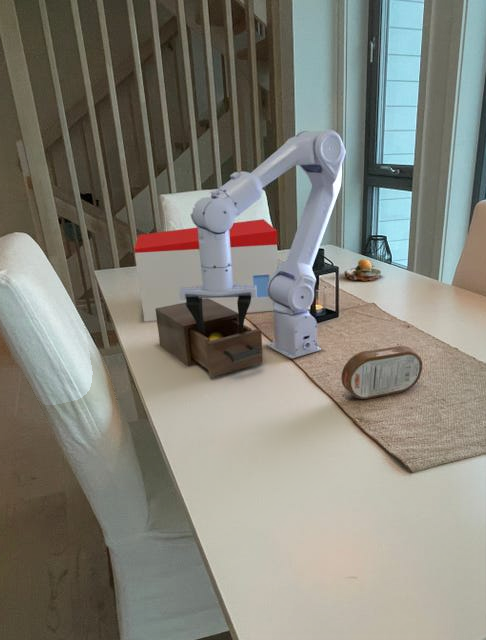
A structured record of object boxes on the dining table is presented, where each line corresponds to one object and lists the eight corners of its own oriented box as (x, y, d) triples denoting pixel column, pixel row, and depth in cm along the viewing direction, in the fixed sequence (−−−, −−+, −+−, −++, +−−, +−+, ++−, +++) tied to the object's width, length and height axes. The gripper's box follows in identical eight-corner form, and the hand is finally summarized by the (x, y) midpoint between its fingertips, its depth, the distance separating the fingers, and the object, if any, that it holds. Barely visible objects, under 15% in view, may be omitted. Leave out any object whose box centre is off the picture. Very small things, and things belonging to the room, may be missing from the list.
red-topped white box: (280, 310, 136) (278, 230, 128) (144, 321, 129) (132, 238, 121) (267, 289, 155) (264, 219, 147) (147, 298, 147) (137, 225, 139)
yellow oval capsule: (224, 351, 100) (209, 341, 99) (213, 363, 101) (199, 353, 100) (228, 335, 108) (215, 325, 107) (218, 346, 109) (205, 337, 108)
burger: (377, 272, 173) (378, 250, 170) (384, 281, 163) (385, 257, 160) (341, 273, 173) (342, 251, 170) (346, 282, 162) (347, 258, 159)
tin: (413, 383, 95) (417, 340, 91) (423, 390, 92) (427, 347, 89) (340, 397, 90) (340, 353, 87) (347, 405, 87) (348, 360, 84)
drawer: (274, 369, 99) (273, 336, 96) (222, 385, 93) (219, 350, 90) (230, 342, 112) (227, 313, 110) (181, 355, 106) (178, 324, 103)
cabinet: (242, 351, 110) (239, 313, 107) (187, 366, 103) (183, 326, 100) (211, 333, 121) (207, 297, 117) (160, 345, 114) (155, 308, 110)
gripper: (255, 259, 100) (259, 325, 105) (181, 261, 99) (188, 327, 104) (254, 267, 93) (258, 337, 99) (174, 269, 93) (182, 339, 98)
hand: (221, 332), depth 101 cm, fingers open, 7 cm apart
